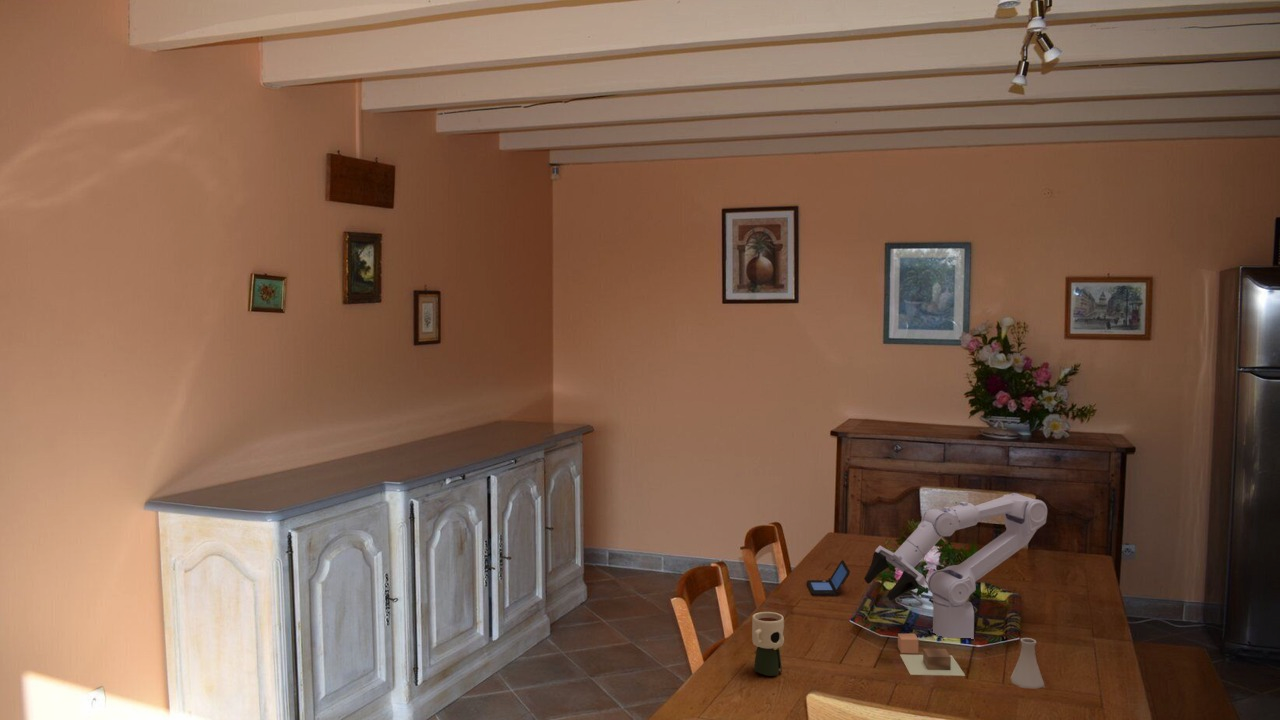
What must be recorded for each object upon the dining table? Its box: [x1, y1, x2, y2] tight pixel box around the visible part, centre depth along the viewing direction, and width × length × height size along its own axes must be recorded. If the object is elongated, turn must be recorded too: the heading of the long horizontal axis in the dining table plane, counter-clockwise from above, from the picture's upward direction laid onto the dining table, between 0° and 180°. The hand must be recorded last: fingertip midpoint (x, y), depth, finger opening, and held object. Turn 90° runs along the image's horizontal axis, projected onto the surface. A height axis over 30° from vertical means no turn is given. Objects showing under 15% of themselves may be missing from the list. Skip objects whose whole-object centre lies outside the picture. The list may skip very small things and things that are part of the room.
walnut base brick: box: [922, 648, 951, 670], centre depth 223 cm, size 5×5×3 cm
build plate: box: [899, 653, 966, 677], centre depth 224 cm, size 12×12×1 cm
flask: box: [1010, 637, 1046, 690], centre depth 214 cm, size 7×7×10 cm
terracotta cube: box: [897, 633, 919, 654], centre depth 233 cm, size 4×4×4 cm
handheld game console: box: [806, 559, 851, 598], centre depth 282 cm, size 12×11×7 cm
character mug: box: [751, 611, 785, 677], centre depth 221 cm, size 11×7×13 cm, turn 143°
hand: (877, 589), depth 237 cm, fingers open, 7 cm apart
